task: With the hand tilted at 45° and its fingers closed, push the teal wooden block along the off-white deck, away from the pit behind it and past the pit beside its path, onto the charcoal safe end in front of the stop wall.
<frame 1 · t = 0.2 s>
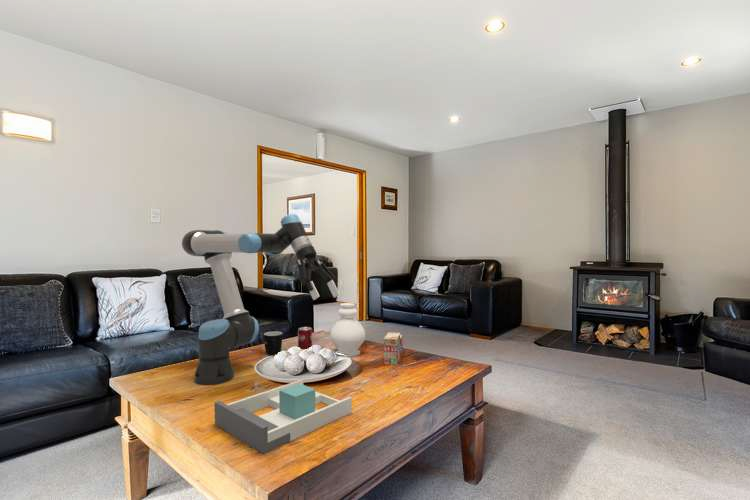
hand: (327, 297, 151), 36 cm above the table, tool tilted 35°, fingers open, 13 cm apart
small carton: (393, 358, 193), on the table
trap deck: (285, 418, 127), on the table
block: (297, 411, 127), point 2 cm above the table, touching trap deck
mug: (273, 354, 199), on the table
soda can: (305, 352, 204), on the table
decorative vase: (347, 353, 201), on the table
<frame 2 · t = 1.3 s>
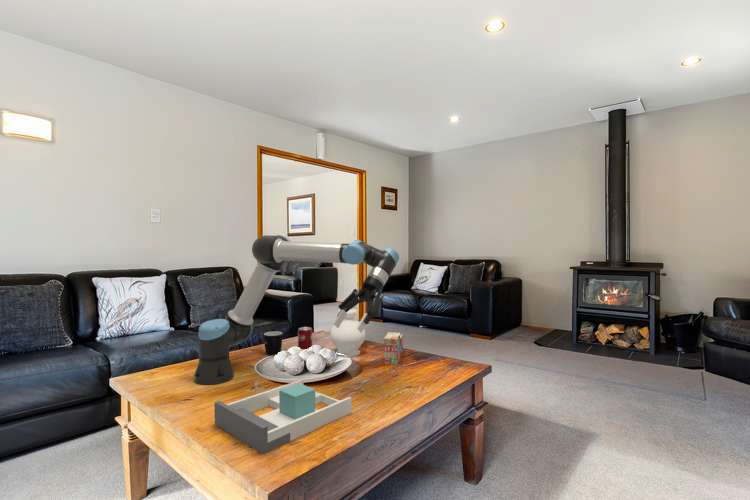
hand: (347, 328, 143), 26 cm above the table, tool tilted 45°, fingers open, 11 cm apart
nothing on the table moved.
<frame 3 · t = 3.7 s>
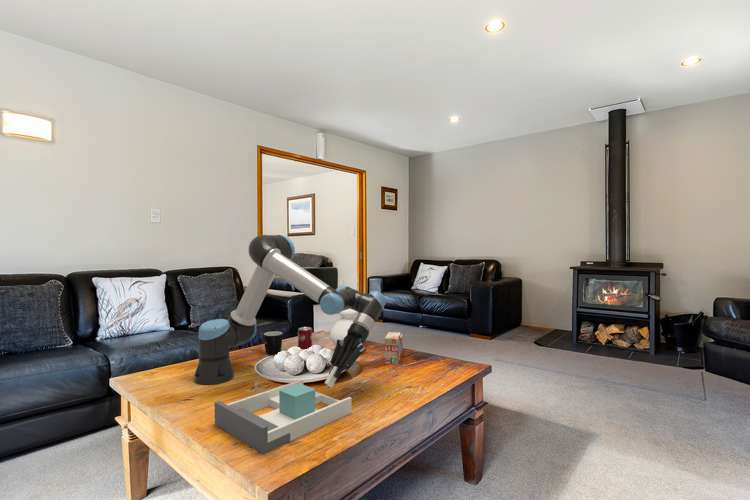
hand: (328, 385, 135), 8 cm above the table, tool tilted 45°, fingers closed
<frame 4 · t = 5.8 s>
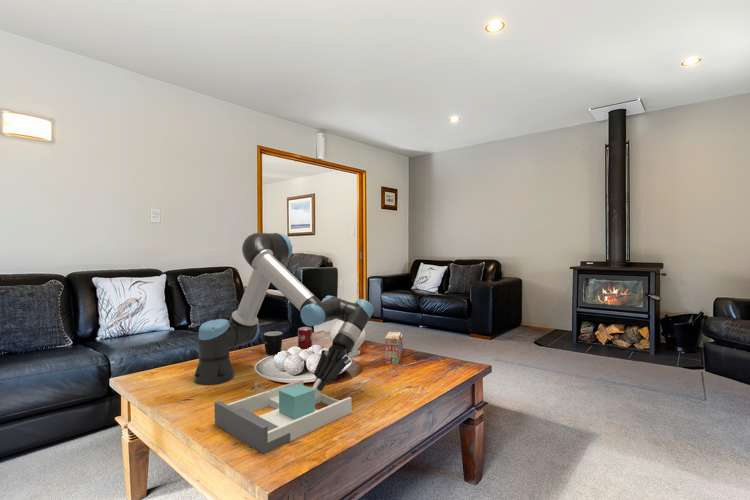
hand: (310, 398, 130), 5 cm above the table, tool tilted 45°, fingers closed
block: (297, 411, 126), point 3 cm above the table, touching gripper
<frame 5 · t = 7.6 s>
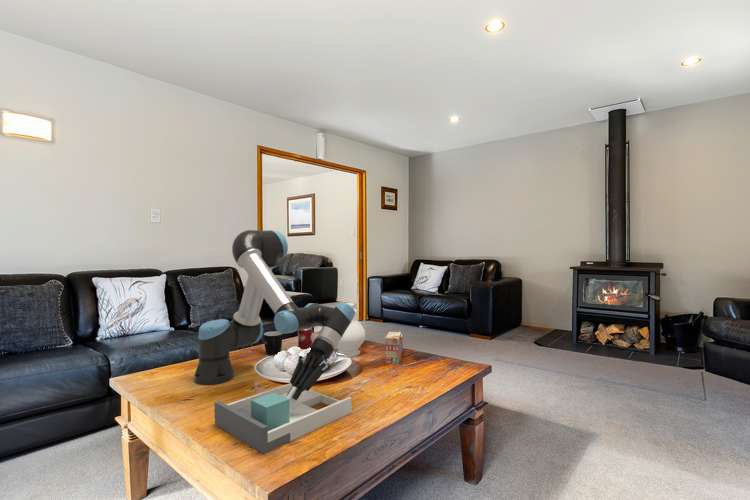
hand: (285, 407, 122), 5 cm above the table, tool tilted 45°, fingers closed
block: (270, 422, 119), point 3 cm above the table, touching gripper
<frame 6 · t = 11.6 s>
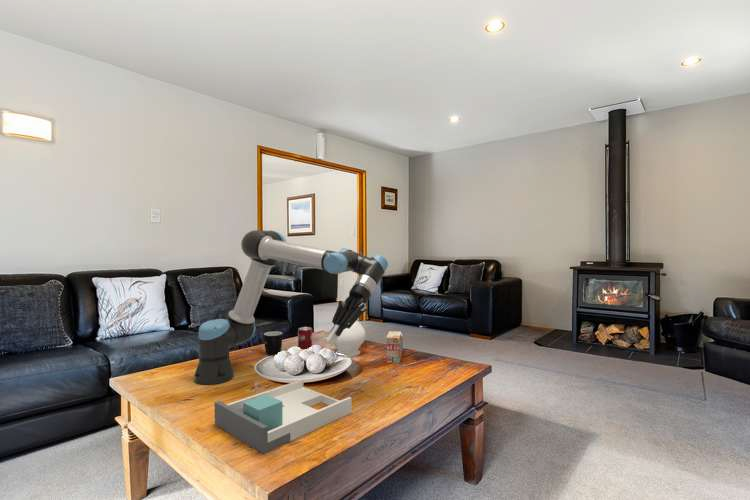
hand: (329, 342, 137), 22 cm above the table, tool tilted 45°, fingers closed
block: (263, 425, 117), point 2 cm above the table, touching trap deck
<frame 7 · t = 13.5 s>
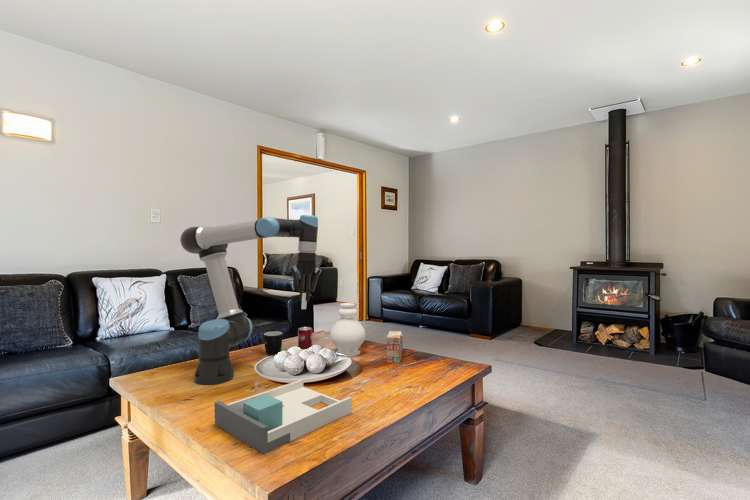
hand: (303, 308, 165), 29 cm above the table, tool pointing down, fingers closed
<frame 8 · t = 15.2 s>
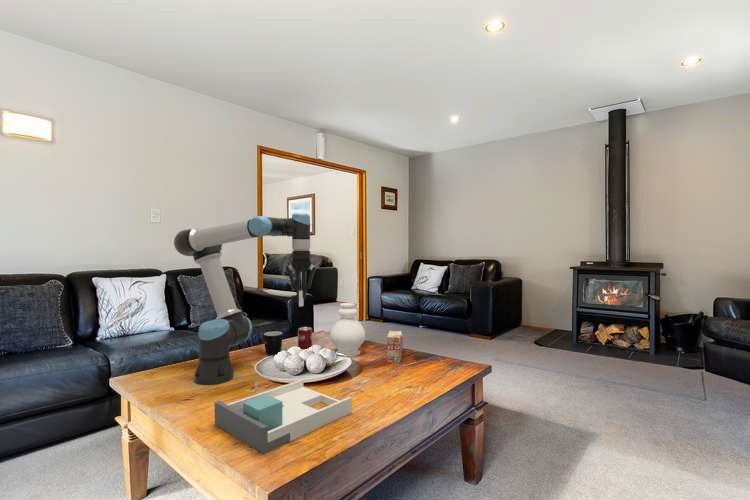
hand: (301, 305, 168), 29 cm above the table, tool pointing down, fingers closed
at the end: block inside the target area on the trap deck (0.8 cm from its centre), point 2.5 cm above the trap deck's base; block tilted 0° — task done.
